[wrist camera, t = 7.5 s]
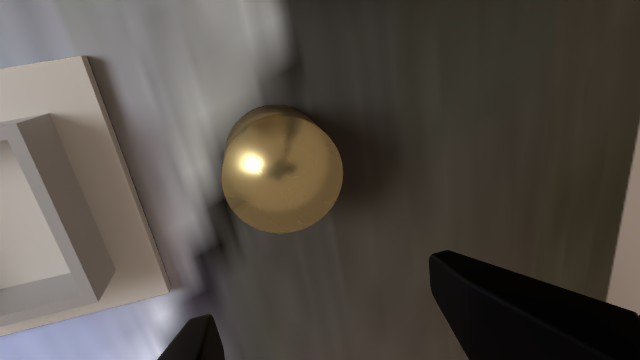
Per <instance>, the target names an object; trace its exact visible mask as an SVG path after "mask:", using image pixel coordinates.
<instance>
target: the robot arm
mask: <svg viewBox="0 0 640 360" xmlns="http://www.w3.org/2000/svg"><path fill="white" fill-rule="evenodd" d="M429 271H430V286H431V291H432V294H433V296H434V298H435V300H436V302H437V304H438V305H439V307H440V309H441V311H442V313H443V314H444V316H445V318H446V320H447V321H448V323H449V325H450V327H451V329H452V330H453V332H454V334H455V336H456V338H457V339H458V341H459V343H460V345H461V346H462V348H463V350H464V352H465V353H466V355H467V357H468V358H469V360H640V315H639V316H638V314H637V313H636V312H633V311H630V310H627V309H624V308H621V307H618V306H615V305H612V304H609V303H606V302H603V301H600V300H597V299H594V298H591V297H588V296H585V295H582V294H579V293H576V292H573V291H570V290H567V289H564V288H561V287H558V286H555V285H552V284H549V283H546V282H543V281H540V280H537V279H534V278H531V277H528V276H525V275H522V274H519V273H516V272H513V271H510V270H507V269H504V268H501V267H498V266H495V265H492V264H489V263H486V262H483V261H480V260H477V259H474V258H471V257H468V256H465V255H462V254H459V253H456V252H452V251H449V250H445V251H442V252H438V253H434V254H431V256H430V257H429ZM157 360H225V357H224V349H223V345H222V342H221V339H220V336H219V333H218V330H217V327H216V324H215V321H214V318H213V316H212V315H211V314H206V315H202V316H198V317H194V318H191V319H190V320H189V321H188V322H187V323H186V324H185V325H184V327H183V328H182V329H181V331H180V332H179V333H178V334H177V336H176V337H175V338H174V339H173V341H172V342H171V343H170V344H169V346H168V347H167V348H166V349H165V351H164V352H163V353H162V354H161V356H160V357H159V358H158V359H157Z"/></svg>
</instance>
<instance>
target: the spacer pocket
mask: <svg viewBox="0 0 640 360" xmlns="http://www.w3.org/2000/svg"><path fill="white" fill-rule="evenodd" d="M170 288H171V285H170V282H169V280H168V277H167V274H166V271H165V269H164V266H163V263H162V260H161V258H160V255H159V252H158V250H157V247H156V244H155V241H154V239H153V236H152V233H151V231H150V228H149V225H148V222H147V220H146V217H145V214H144V211H143V209H142V206H141V203H140V201H139V198H138V195H137V192H136V190H135V187H134V184H133V182H132V179H131V176H130V173H129V171H128V168H127V165H126V162H125V160H124V157H123V154H122V152H121V149H120V146H119V143H118V141H117V138H116V135H115V132H114V130H113V127H112V124H111V122H110V119H109V116H108V113H107V111H106V108H105V105H104V103H103V100H102V97H101V94H100V92H99V89H98V86H97V83H96V81H95V78H94V75H93V73H92V70H91V67H90V64H89V62H88V59H87V56H76V57H70V58H64V59H58V60H52V61H46V62H40V63H33V64H27V65H21V66H15V67H9V68H3V69H0V336H3V335H7V334H11V333H15V332H19V331H22V330H26V329H30V328H34V327H38V326H42V325H46V324H50V323H54V322H58V321H62V320H66V319H69V318H73V317H77V316H81V315H85V314H89V313H93V312H97V311H101V310H105V309H109V308H113V307H116V306H120V305H124V304H128V303H132V302H136V301H140V300H144V299H148V298H152V297H156V296H160V295H163V294H167V293H169V292H170Z"/></svg>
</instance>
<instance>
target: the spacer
mask: <svg viewBox="0 0 640 360" xmlns="http://www.w3.org/2000/svg"><path fill="white" fill-rule="evenodd" d="M342 181H343V165H342V161H341V157H340V154H339V152H338V150H337V148H336V146H335V144H334V143H333V141H332V140H331V139H330V138H329V136H328V135H327V134H326V133H325V132H324V131H322V130H321V129H320V128H319V127H318V126H317V125H316V124H315V123H314V122H313V121H312V120H311V119H309V118H308V117H307V116H306V115H305V114H303V113H302V112H300V111H298V110H296V109H294V108H292V107H288V106H284V105H266V106H262V107H258V108H256V109H253V110H251V111H250V112H248V113H246V114H245V115H244V116H242V117H241V118H240V119H239V120H238V121H237V122H236V124H235V125H234V126H233V128H232V130H231V131H230V133H229V136H228V139H227V142H226V147H225V154H224V161H223V168H222V186H223V191H224V194H225V197H226V200H227V202H228V204H229V206H230V207H231V208H232V210H233V211H234V212H235V214H236V215H237V216H238V217H239V218H241V219H242V220H243V221H244V222H246V223H247V224H249V225H250V226H252V227H254V228H257V229H259V230H262V231H266V232H271V233H289V232H295V231H298V230H302V229H304V228H306V227H309V226H311V225H312V224H314V223H316V222H317V221H318V220H320V219H321V218H322V217H323V216H324V215H325V214H327V212H328V211H329V210H330V209H331V208H332V206H333V205H334V203H335V201H336V200H337V197H338V195H339V193H340V190H341V186H342Z"/></svg>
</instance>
